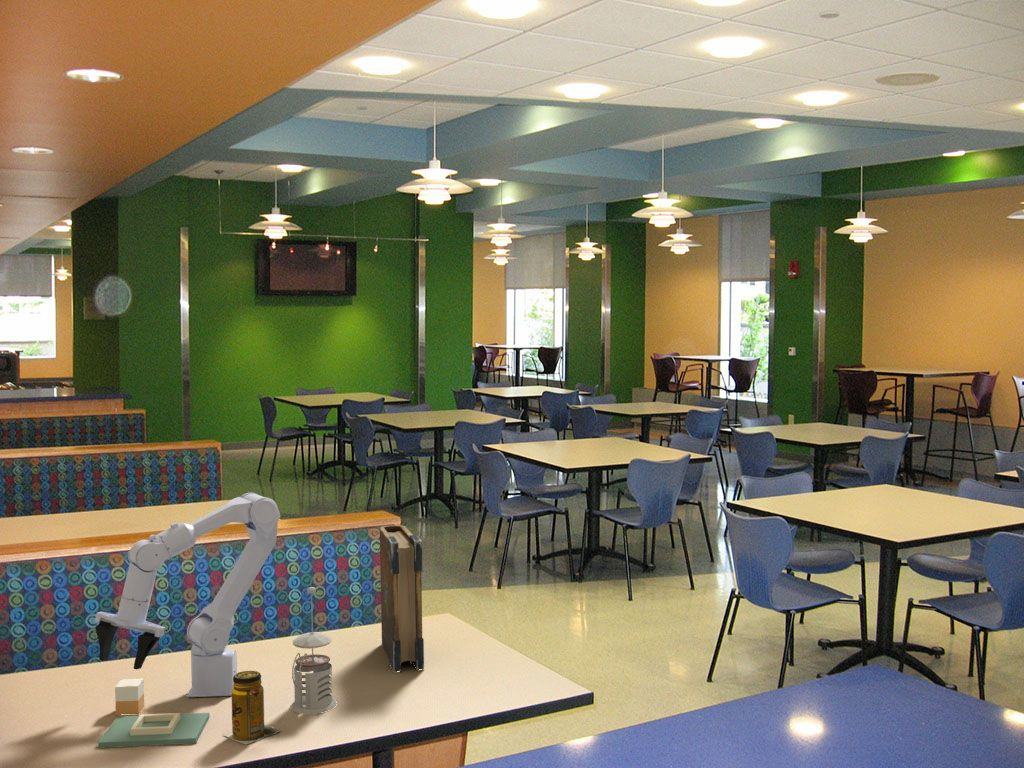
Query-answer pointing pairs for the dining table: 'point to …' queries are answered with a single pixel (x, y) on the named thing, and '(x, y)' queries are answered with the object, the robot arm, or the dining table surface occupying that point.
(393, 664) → the decorative book
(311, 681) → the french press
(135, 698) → the brick stack
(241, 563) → the robot arm
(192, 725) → the base plate
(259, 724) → the condiment
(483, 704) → the dining table surface
